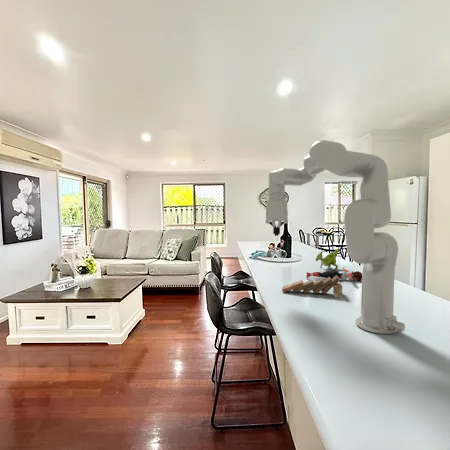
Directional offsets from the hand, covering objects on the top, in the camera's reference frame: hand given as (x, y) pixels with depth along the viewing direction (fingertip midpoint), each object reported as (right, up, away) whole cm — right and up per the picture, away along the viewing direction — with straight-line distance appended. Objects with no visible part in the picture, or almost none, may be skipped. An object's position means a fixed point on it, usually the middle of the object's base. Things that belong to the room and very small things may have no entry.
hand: (276, 235), depth 140 cm
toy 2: (+37, -26, +24) cm, 51 cm away
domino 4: (+17, -26, -3) cm, 31 cm away
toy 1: (+43, -24, +53) cm, 73 cm away
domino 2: (+8, -26, -1) cm, 27 cm away
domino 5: (+21, -26, -4) cm, 34 cm away
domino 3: (+13, -26, -2) cm, 29 cm away
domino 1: (+3, -26, +1) cm, 26 cm away
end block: (+27, -27, -5) cm, 39 cm away
